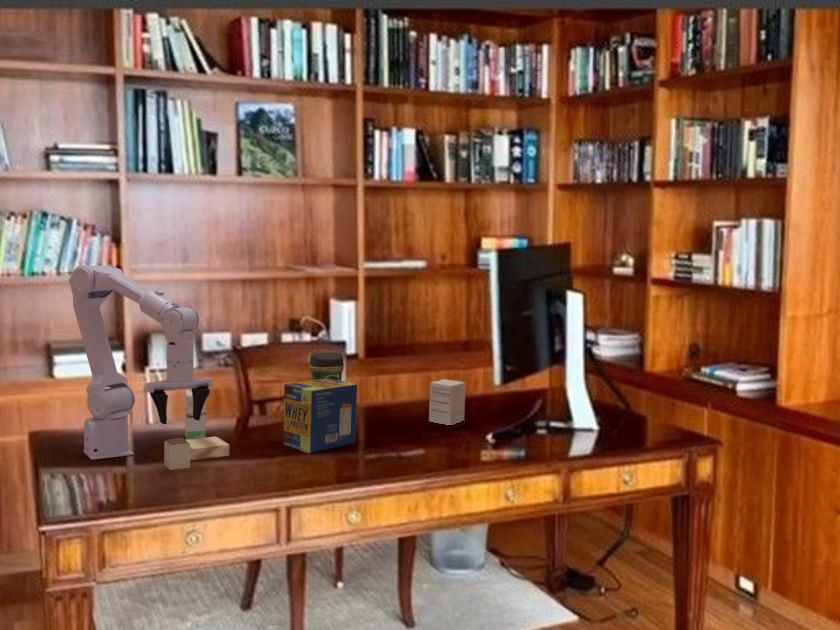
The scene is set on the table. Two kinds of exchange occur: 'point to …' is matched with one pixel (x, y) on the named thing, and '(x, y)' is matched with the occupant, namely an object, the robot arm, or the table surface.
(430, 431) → the table surface
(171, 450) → the sage box
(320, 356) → the coffee jar
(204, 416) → the ink box
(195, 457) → the maple block
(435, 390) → the supplement box
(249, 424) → the table surface
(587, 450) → the table surface
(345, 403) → the protein box
